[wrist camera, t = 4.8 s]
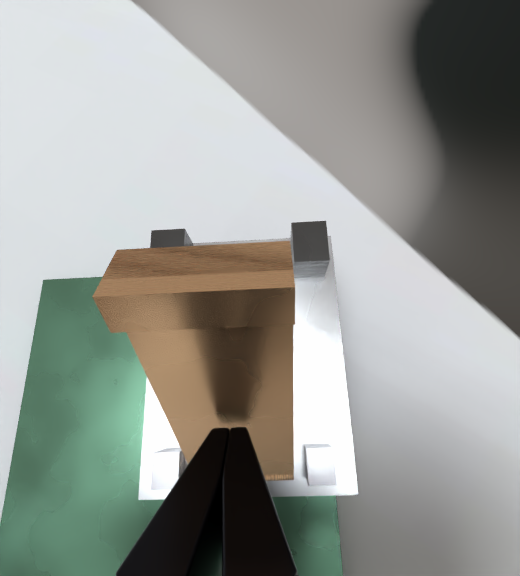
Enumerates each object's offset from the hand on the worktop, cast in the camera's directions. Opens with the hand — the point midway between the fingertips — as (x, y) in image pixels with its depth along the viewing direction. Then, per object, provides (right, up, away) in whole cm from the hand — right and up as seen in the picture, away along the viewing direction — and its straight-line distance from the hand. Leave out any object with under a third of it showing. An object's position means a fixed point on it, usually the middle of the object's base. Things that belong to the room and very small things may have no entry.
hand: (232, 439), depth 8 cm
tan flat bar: (0, +1, 0) cm, 1 cm away
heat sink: (-4, -4, +9) cm, 10 cm away
